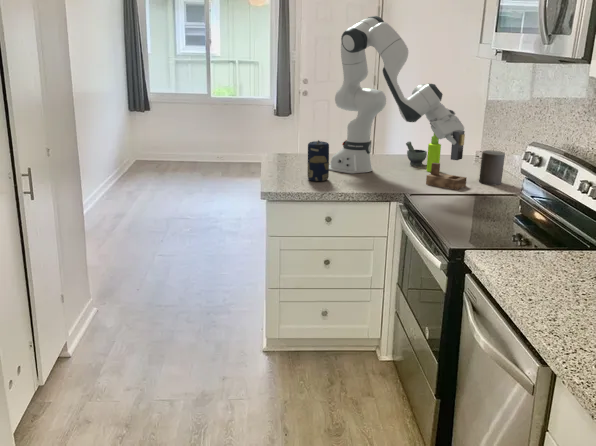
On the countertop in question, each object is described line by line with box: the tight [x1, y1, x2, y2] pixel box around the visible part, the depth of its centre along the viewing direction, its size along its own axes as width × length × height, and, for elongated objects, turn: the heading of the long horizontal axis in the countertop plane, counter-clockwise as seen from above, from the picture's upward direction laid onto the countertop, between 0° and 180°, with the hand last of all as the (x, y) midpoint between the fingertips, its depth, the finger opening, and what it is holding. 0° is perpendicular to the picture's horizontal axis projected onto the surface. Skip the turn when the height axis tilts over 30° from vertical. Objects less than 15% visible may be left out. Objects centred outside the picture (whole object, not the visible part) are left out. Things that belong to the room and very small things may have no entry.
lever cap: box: [450, 130, 466, 161], centre depth 252 cm, size 4×5×12 cm
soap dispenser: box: [426, 133, 442, 173], centre depth 284 cm, size 6×7×20 cm
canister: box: [307, 139, 330, 182], centre depth 265 cm, size 10×10×18 cm
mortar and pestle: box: [405, 141, 428, 167], centre depth 300 cm, size 11×9×12 cm
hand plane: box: [425, 162, 467, 191], centre depth 258 cm, size 15×8×9 cm, turn 50°
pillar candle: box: [478, 149, 506, 186], centre depth 263 cm, size 10×10×15 cm
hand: (459, 142), depth 252 cm, fingers closed on lever cap, 5 cm apart
